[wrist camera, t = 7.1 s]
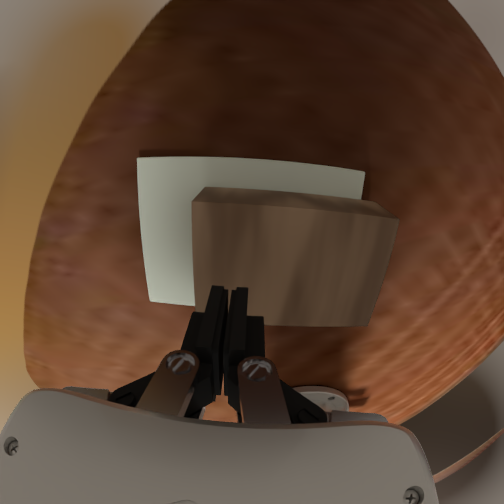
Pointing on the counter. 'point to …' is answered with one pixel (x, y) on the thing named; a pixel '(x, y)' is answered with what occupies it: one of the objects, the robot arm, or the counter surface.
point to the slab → (292, 254)
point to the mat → (190, 185)
